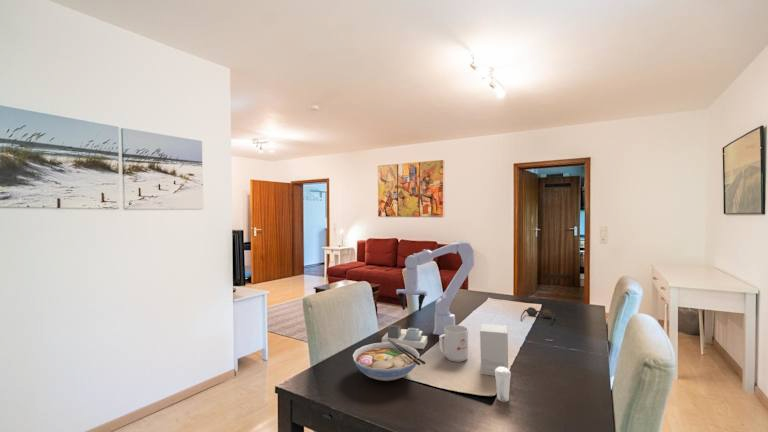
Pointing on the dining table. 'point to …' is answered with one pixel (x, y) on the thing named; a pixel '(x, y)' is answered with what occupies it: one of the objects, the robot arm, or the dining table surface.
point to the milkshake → (502, 383)
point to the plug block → (412, 334)
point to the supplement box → (493, 348)
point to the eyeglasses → (544, 313)
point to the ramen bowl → (386, 360)
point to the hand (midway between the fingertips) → (411, 309)
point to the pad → (403, 331)
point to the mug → (455, 343)
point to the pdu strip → (402, 338)
